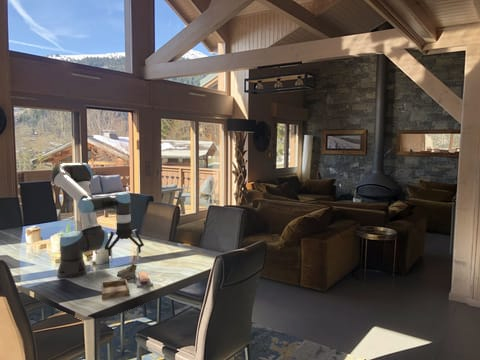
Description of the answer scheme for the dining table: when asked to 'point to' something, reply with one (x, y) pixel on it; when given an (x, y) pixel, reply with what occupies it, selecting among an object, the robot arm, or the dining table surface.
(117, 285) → the tray
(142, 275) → the checker pad
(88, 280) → the dining table surface
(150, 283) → the checker base
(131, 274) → the rock
